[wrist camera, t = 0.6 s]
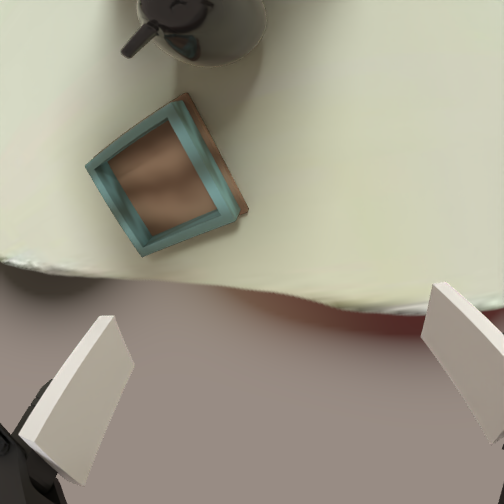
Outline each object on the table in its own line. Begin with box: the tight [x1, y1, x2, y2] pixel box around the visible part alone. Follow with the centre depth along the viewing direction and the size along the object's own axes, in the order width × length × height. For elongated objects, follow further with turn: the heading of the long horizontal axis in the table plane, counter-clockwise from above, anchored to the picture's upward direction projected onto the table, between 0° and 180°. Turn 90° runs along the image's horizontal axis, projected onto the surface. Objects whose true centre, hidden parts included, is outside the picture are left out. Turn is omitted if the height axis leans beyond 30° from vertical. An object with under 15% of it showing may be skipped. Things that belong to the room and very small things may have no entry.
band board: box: [85, 93, 249, 257], centre depth 32 cm, size 16×16×4 cm
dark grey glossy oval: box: [120, 0, 267, 68], centre depth 17 cm, size 10×10×15 cm
